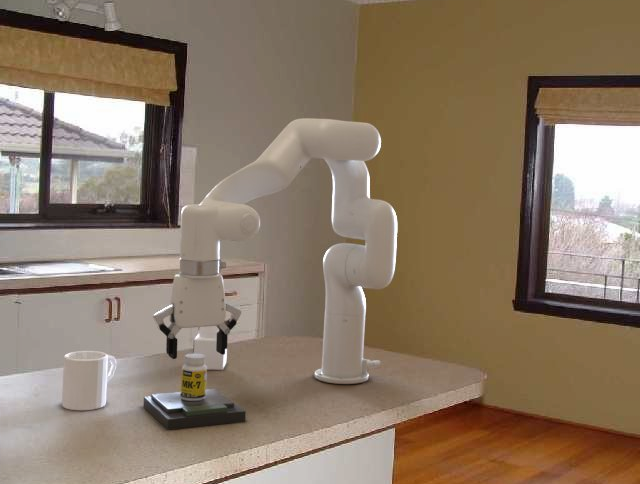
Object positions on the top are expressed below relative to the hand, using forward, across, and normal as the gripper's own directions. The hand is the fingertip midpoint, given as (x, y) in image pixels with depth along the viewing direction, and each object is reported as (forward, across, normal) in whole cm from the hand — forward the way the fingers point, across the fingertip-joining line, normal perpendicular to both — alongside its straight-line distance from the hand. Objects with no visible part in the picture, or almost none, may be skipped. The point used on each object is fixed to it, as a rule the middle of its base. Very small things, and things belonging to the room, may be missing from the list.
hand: (196, 355), depth 171 cm
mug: (+11, +17, -13) cm, 24 cm away
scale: (+11, +1, +1) cm, 11 cm away
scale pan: (+9, +1, 0) cm, 9 cm away
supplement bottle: (+9, +1, 0) cm, 9 cm away
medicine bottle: (+12, -15, -35) cm, 40 cm away
